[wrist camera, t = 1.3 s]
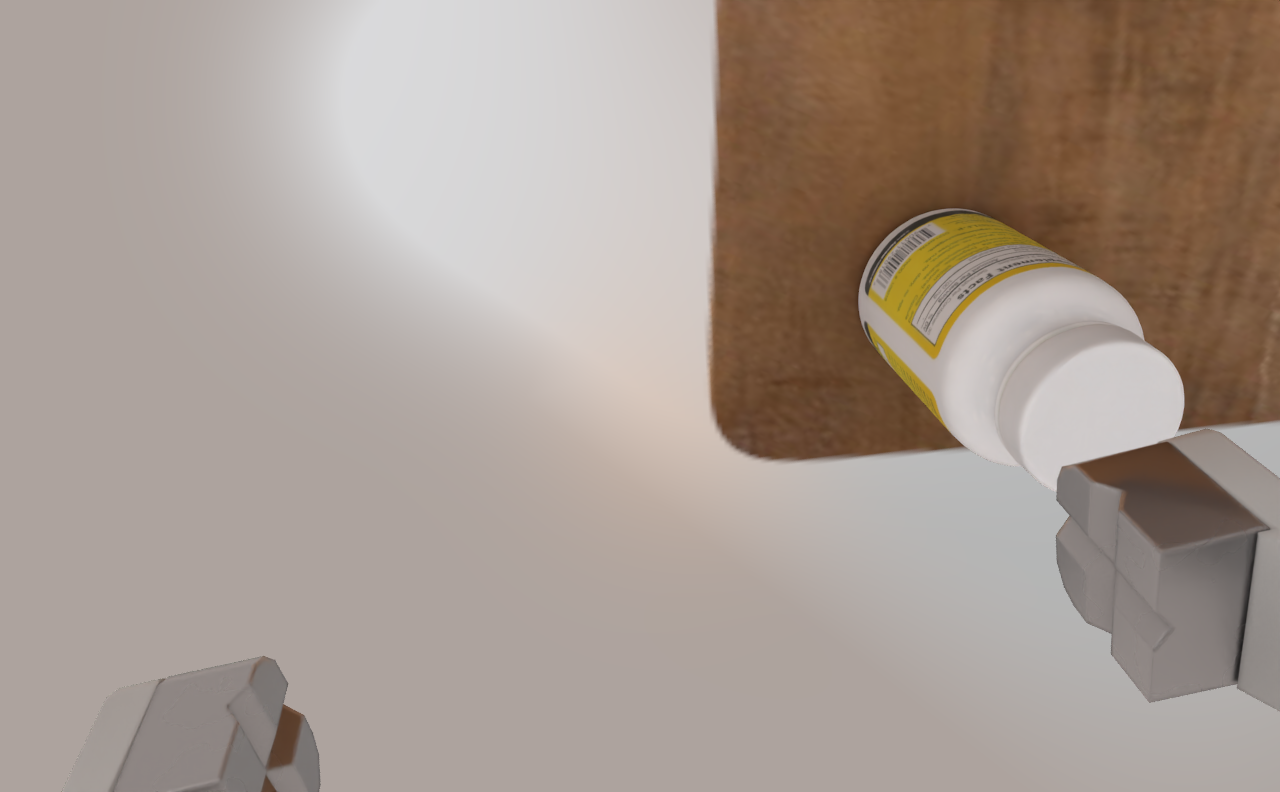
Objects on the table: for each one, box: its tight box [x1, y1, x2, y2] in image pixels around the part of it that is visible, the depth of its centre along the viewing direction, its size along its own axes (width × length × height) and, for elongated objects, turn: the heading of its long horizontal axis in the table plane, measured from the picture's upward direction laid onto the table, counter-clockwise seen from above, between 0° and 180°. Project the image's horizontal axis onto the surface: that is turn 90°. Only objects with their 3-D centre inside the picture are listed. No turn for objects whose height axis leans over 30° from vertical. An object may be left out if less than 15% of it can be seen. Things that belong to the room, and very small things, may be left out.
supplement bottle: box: [858, 208, 1184, 492], centre depth 27 cm, size 5×5×10 cm
